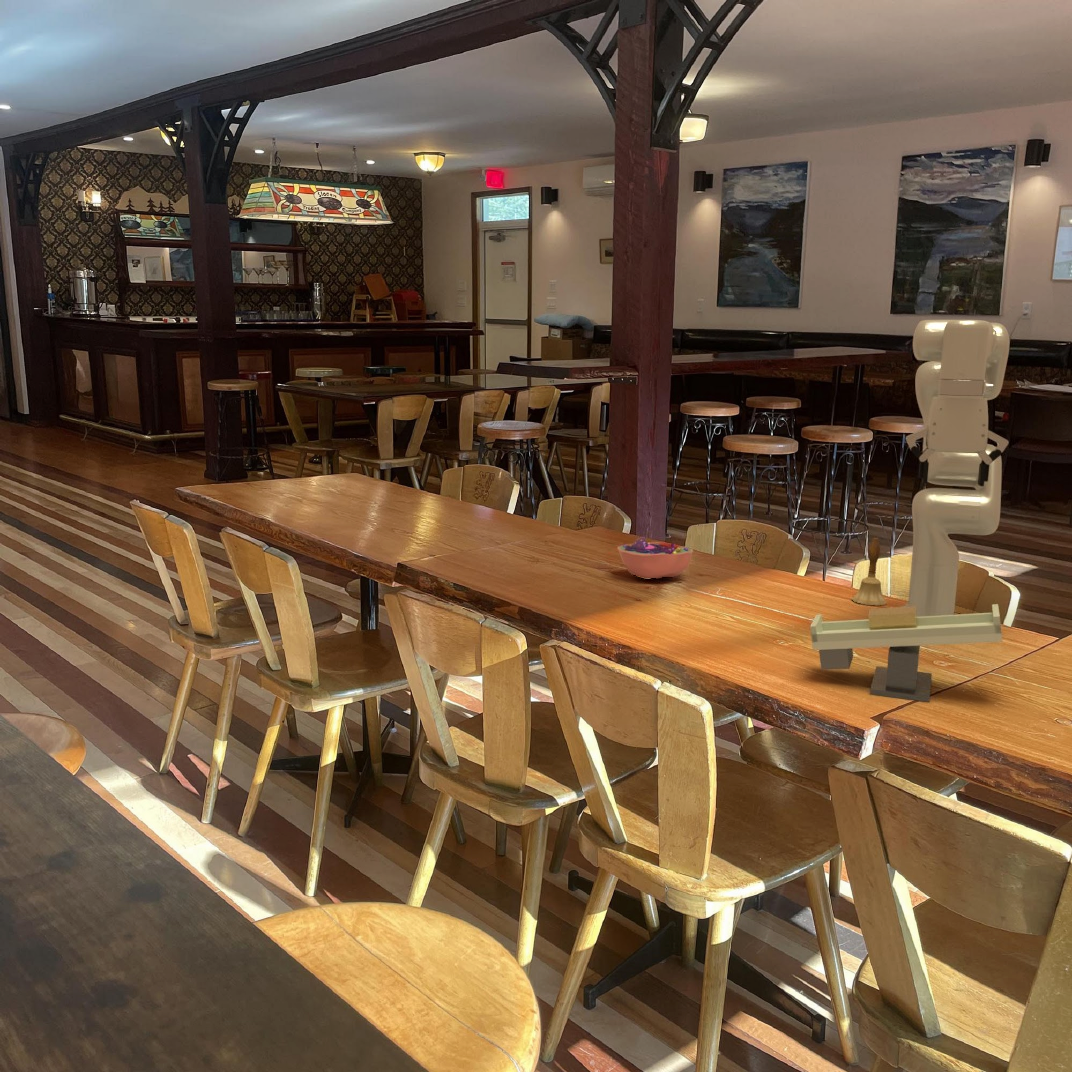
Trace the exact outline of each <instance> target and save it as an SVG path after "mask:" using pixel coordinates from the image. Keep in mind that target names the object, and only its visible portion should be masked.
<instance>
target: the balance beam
mask: <svg viewBox="0 0 1072 1072" xmlns="http://www.w3.org/2000/svg"><path fill="white" fill-rule="evenodd" d="M991 608H992V609H991V610H992V612H981V613H961V614H954V615H939V616H921V617H917V623H918V628H901V629H881V630H870V628H869V619H851V620H833V621H823V614H821V613H820V614H815V616H814V619H813V620H812V621H811V624H810V626H809V630H810V636H811V637H810V638H811V645H812V650H813V651H818V655H819V662H820V670H821V671H822V670H823V671H827V670H849V669H850V668H851V665H852V661H853V659H854V650H853V649H865V648H866V649H868V648H869V649H870V648H890V647H894V646H917V645H920V646H935V645H938V646H939V645H957V644H958V645H959V644H979V643H980V644H981V643H983V644H984V643H1002V642H1003V634H1002V626H1001V625H1002V624H1001V616H1000V609H999V604H998V603H996V604H995V603H994V604H991Z"/></svg>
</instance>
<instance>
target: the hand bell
mask: <svg viewBox="0 0 1072 1072" xmlns="http://www.w3.org/2000/svg"><path fill="white" fill-rule="evenodd" d="M880 551H881V546H880V542H879V538H878V537H872V539H871V541H870V544H869V547H868V561H869V565H868V566H869V567H868V574H867V577H864V578H862V579H861V582H860V586H859V589H858V591H857V592H856V594H855V595H853V596H852V598H851V601H852V600H853V601H854V603H856V602H857V603H856V604H858V603H861V604H860V605H863V604H865V605H864V606H870V605H875V606H874V607H881V606H880V605H882V606H885V605H887V604H888V601H887V599H886V598H885V597H884V595H883V592H882V586H881V584H882V583H881V581H880V580H879V579H877V578H876V572H877V562H878V560H879V558H880V553H881V552H880ZM853 601H852V602H853Z"/></svg>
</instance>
